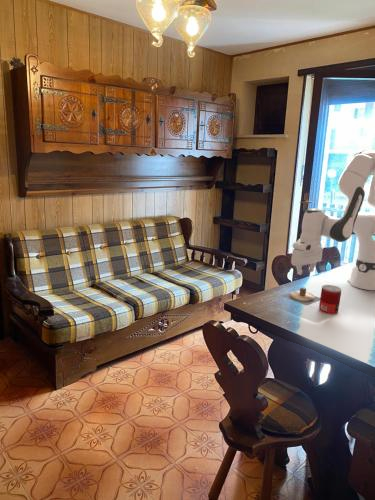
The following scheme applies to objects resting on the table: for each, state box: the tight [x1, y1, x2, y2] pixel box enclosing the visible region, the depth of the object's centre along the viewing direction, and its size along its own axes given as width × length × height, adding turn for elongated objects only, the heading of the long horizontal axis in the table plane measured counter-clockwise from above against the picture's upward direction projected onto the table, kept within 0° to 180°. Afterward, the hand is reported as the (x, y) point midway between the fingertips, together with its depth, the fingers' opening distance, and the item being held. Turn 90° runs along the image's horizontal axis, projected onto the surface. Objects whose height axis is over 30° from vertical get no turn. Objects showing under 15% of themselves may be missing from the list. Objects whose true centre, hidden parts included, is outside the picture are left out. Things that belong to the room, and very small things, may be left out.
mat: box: [280, 289, 320, 306], centre depth 183 cm, size 14×14×1 cm
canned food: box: [318, 284, 342, 315], centre depth 168 cm, size 8×8×11 cm
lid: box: [289, 287, 315, 302], centre depth 183 cm, size 11×11×4 cm
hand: (305, 272), depth 180 cm, fingers open, 8 cm apart
